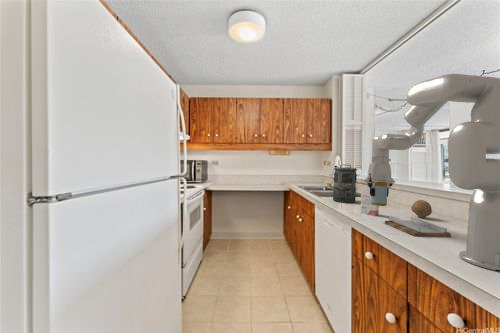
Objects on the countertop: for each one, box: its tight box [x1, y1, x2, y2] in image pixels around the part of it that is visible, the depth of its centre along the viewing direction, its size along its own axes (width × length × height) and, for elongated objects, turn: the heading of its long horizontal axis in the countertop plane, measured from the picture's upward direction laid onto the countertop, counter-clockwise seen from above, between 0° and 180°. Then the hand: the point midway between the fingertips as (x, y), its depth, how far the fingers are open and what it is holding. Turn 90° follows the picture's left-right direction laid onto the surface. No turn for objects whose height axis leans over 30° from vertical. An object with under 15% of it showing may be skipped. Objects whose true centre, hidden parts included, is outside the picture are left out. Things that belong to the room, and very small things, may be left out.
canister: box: [332, 164, 358, 204], centre depth 170 cm, size 16×16×28 cm
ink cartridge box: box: [360, 188, 380, 217], centre depth 130 cm, size 9×5×15 cm, turn 42°
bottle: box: [371, 176, 388, 207], centre depth 114 cm, size 7×7×15 cm
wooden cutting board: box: [388, 216, 448, 233], centre depth 101 cm, size 18×12×2 cm
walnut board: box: [384, 220, 452, 238], centre depth 101 cm, size 18×16×2 cm
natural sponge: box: [410, 199, 433, 219], centre depth 125 cm, size 9×9×10 cm
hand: (379, 195), depth 114 cm, fingers closed on bottle, 6 cm apart
